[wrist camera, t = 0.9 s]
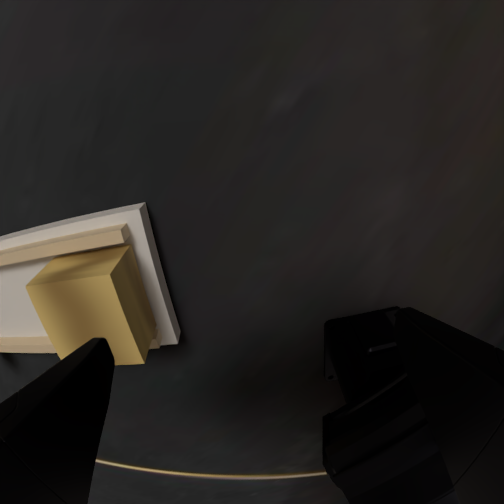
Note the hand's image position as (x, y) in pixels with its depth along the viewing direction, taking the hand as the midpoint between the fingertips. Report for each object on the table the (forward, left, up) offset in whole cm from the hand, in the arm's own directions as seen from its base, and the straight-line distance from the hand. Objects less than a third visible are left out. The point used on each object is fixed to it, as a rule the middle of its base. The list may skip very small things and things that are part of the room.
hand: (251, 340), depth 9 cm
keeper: (-3, +10, -10) cm, 15 cm away
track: (-3, +17, -12) cm, 21 cm away
